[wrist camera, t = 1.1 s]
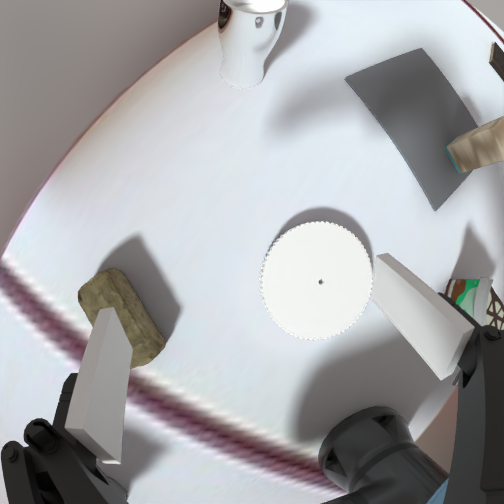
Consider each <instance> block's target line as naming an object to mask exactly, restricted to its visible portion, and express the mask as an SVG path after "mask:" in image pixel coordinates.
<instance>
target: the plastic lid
mask: <svg viewBox="0 0 504 504" xmlns="http://www.w3.org/2000/svg"><path fill="white" fill-rule="evenodd" d="M264 258H265V261H263V266H261V269H262V271H260V274H261V276H260V278H259V279H260V280H261V282H259V284H260V285H261V287H260V290H261V293H260V294H261V296H262V300H263V302H264V303H263V304H264V306H265V307H266V310H267V311H268V314H269V315H270V316H271V318H272V319H273V320H274V321H275V322H276V324H277V325H279V326H280V328H283V330H284V331H287V332H288V333H289V334H292V335H293V336H297V337H298V338H300V337H301V338H302V339H305V338H306V339H307V340H309V339H311V340H314V339H316V340H319V339H322V340H324V338H326V339H328V338H329V337H334V335H336V336H337V335H338V333H342V331H346V330H347V328H350V327H351V326H350V325H353V324H354V322H355V321H357V320H358V319H357V318H358V317H360V316H361V315H360V314H361V313H363V312H364V311H363V310H364V309H365V308H366V304H368V300H369V299H370V297H369V295H371V292H370V291H371V290H372V287H371V286H372V285H373V283H372V280H373V277H372V275H373V273H372V271H371V270H372V268H371V263H370V258H368V253H366V249H364V245H362V244H361V241H358V238H357V237H355V235H354V234H351V231H347V229H346V228H343V227H342V226H338V224H334V223H329V222H324V221H321V222H319V221H316V222H307V223H304V224H301V225H298V226H295V227H293V228H292V229H289V231H286V232H285V233H284V234H283V235H281V236H280V238H277V239H276V242H274V243H273V246H271V247H270V251H267V256H265V257H264Z"/></svg>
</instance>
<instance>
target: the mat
mask: <svg viewBox="0 0 504 504" xmlns="http://www.w3.org/2000/svg"><path fill="white" fill-rule="evenodd" d="M345 80H346V82H347V83H348V84H349V85H350V86H351V87H352V89H353V90H354V91H355V92H356V93H357V95H358V96H359V97H360V98H361V100H362V101H363V102H364V103H365V105H366V106H367V107H368V108H369V110H370V111H371V112H372V114H373V115H374V116H375V118H376V119H377V120H378V122H379V123H380V124H381V126H382V127H383V128H384V130H385V131H386V133H387V134H388V135H389V137H390V138H391V140H392V141H393V143H394V144H395V146H396V147H397V149H398V150H399V152H400V153H401V155H402V156H403V158H404V159H405V161H406V163H407V164H408V166H409V167H410V169H411V171H412V172H413V174H414V176H415V177H416V179H417V181H418V182H419V184H420V186H421V187H422V189H423V191H424V193H425V195H426V196H427V198H428V200H429V202H430V204H431V206H432V207H433V209H434V211H436V210H437V209H438V208H439V207H440V206H441V205H442V204H443V203H444V202H445V201H446V200H447V199H448V198H449V197H450V195H451V194H452V193H453V192H454V191H455V190H456V189H457V188H458V187H459V185H460V184H461V183H462V182H463V181H464V180H465V179H466V178H467V176H468V175H469V174H470V173H471V172H472V171H473V170H470V171H467V172H464V173H460V174H459V173H458V171H457V170H456V168H455V166H454V164H453V162H452V160H451V159H450V157H449V155H448V153H447V152H446V150H445V147H446V146H447V145H448V144H450V143H451V142H452V141H453V140H454V139H455V138H456V137H458V136H460V135H463V134H465V133H467V132H469V131H471V130H473V129H476V128H478V126H477V125H476V123H475V121H474V120H473V118H472V116H471V115H470V113H469V111H468V110H467V108H466V107H465V105H464V104H463V102H462V100H461V99H460V97H459V96H458V94H457V93H456V92H455V90H454V89H453V87H452V86H451V84H450V83H449V82H448V80H447V79H446V78H445V76H444V75H443V74H442V72H441V71H440V70H439V68H438V67H437V66H436V65H435V63H434V62H433V61H432V60H431V58H430V57H429V56H428V55H427V54H426V52H425V51H424V50H423V49H422V48H420V49H417V50H414V51H411V52H409V53H406V54H403V55H400V56H397V57H395V58H392V59H389V60H387V61H384V62H382V63H379V64H377V65H374V66H372V67H369V68H367V69H364V70H362V71H360V72H357V73H355V74H353V75H350V76H348V77H346V78H345Z"/></svg>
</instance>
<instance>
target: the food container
mask: <svg viewBox="0 0 504 504" xmlns="http://www.w3.org/2000/svg"><path fill="white" fill-rule="evenodd" d="M492 283H493V280H490V279H489V278H484V277H481V279H480V280H465V279H450V280H449V282H448V285H447V288H446V292H445V295H446V296H448V297H450V298H451V299H452V300H453V301H454V302H455V303H456V304H458V305H459V306H460V307H461V309H463V310H464V311H466V312H467V313H468V314H469V315H470V316H471V317H472V318H473V319H474V320H476V321H477V322H478V323H479V324H480V325H481V326H484V325H492V326H495V327H496V328H498V329H499V330H504V305H503V303H502V302H501V300H500V299H499V297H498V296H497V295H496V293H495V291H494V290H493V288H492V286H491V285H492Z"/></svg>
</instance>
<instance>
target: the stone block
mask: <svg viewBox="0 0 504 504" xmlns="http://www.w3.org/2000/svg"><path fill="white" fill-rule="evenodd" d="M78 302H79V304H80V306H81V307H82V309H83V310H84V312H85V313H86V316H87V318H88V320H89V321H90V323H91V324H92V326H93V327H94V324H95V321H96V318H97V316H98V313H99V310H100V309H105V308H111V307H114V309H115V311H116V314H117V316H118V318H119V320H120V323H121V325H122V327H123V329H124V331H125V334H126V336H127V338H128V340H129V342H130V344H131V346H132V348H133V352H132V359H131V365H130V369H132V368H135V367H138V366H143V365H146V364H148V363H149V362H151V361H152V360H153V359H154V358H155V357H156V356H157V355H158V354H159V353H160V352H161V351H162V350H163V349H164V348H165V345H166V342H165V341H164V338H163V337H162V335H161V334H160V332H159V331H158V329H157V327H156V325H155V324H154V322H153V321H152V319H151V318H150V317H149V315H148V313H147V312H146V310H145V308H144V306H143V304H142V303H141V301H140V299H139V297H138V296H137V294H136V293H135V291H134V290H133V288H132V286H131V285H130V283H129V281H128V280H127V278H126V277H125V275H124V274H123V272H122V271H120V270H118V269H115V268H109V269H107V270H104V271H102V272H100V273H99V274H98V275H96V276H94V277H93V278H91V279H90V280H89V281H88V282H87V283H85V284H84V285H83V286H82V287H81V289H80V290H79V291H78Z"/></svg>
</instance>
